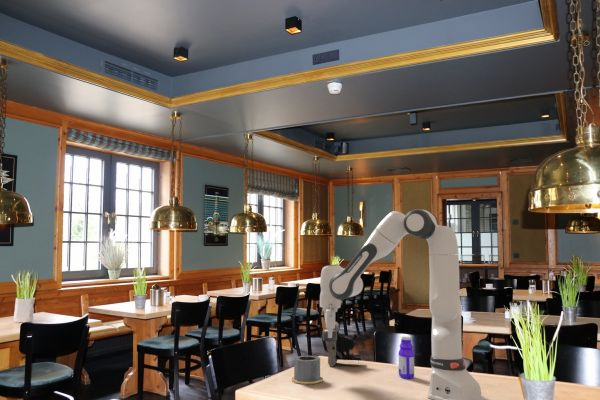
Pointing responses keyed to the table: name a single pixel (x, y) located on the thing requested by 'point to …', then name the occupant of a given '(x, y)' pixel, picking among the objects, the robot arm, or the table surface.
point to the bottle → (406, 358)
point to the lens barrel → (307, 370)
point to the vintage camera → (341, 348)
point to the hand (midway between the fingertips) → (329, 336)
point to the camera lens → (325, 336)
